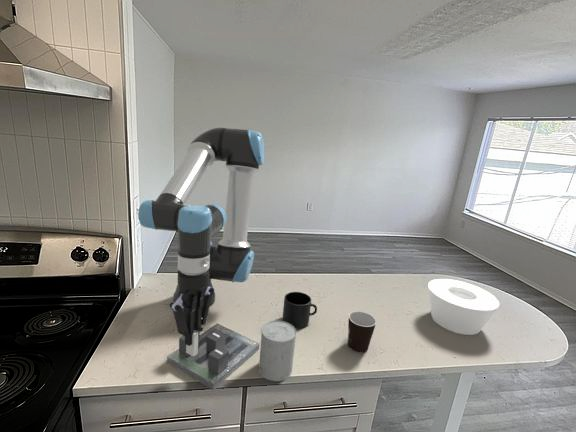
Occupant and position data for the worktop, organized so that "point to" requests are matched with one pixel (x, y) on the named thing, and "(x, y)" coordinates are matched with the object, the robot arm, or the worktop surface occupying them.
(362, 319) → the dark brown tapered cylinder
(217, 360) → the breaker
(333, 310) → the worktop surface
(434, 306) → the bowl
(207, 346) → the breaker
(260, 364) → the grey stone cylinder
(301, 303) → the mug
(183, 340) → the block
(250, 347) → the panel
